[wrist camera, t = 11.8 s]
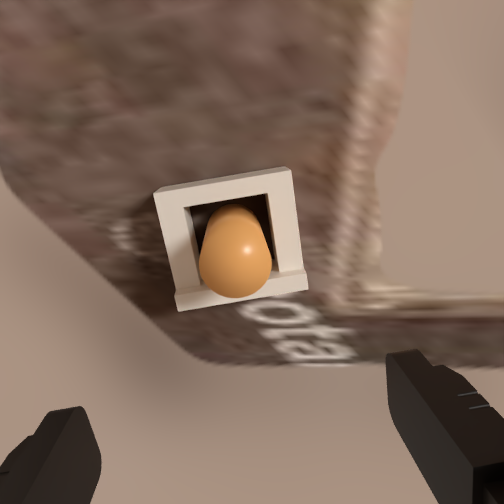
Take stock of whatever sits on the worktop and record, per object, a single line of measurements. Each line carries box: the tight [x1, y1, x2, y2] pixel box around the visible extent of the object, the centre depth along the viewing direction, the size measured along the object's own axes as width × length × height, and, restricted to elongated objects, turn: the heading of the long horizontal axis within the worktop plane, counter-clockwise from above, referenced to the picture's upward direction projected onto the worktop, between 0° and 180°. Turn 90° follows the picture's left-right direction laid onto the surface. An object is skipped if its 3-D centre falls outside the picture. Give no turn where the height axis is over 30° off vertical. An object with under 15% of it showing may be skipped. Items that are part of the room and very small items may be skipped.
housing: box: [153, 166, 308, 312], centre depth 27 cm, size 8×9×4 cm
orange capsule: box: [199, 204, 272, 298], centre depth 25 cm, size 4×4×8 cm
